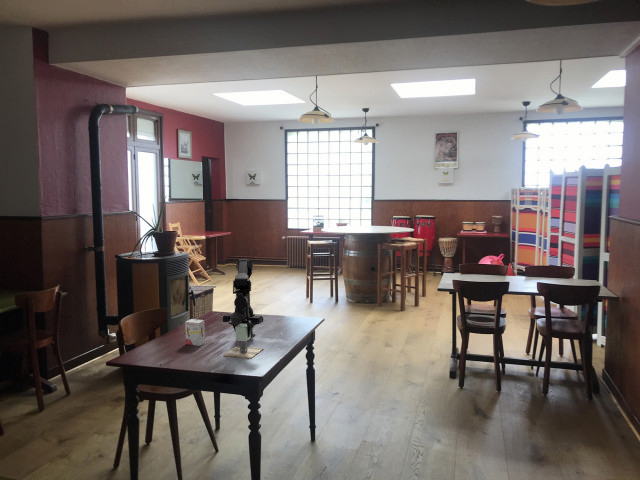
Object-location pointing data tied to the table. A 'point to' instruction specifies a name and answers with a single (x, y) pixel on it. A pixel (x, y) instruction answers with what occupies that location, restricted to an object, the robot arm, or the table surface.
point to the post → (243, 346)
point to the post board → (249, 354)
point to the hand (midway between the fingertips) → (243, 336)
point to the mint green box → (242, 332)
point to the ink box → (195, 332)
